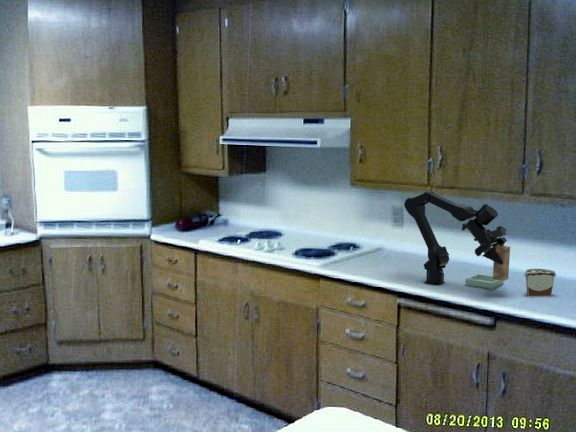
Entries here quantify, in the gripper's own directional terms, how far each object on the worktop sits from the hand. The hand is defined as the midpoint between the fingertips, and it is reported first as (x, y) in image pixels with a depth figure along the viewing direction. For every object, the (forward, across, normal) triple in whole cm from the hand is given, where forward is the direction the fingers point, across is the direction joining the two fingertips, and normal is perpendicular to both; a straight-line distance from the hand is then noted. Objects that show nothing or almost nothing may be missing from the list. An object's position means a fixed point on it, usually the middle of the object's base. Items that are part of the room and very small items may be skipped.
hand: (504, 263), depth 254 cm
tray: (0, +12, +19) cm, 22 cm away
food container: (+16, +12, +3) cm, 20 cm away
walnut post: (+4, 0, +6) cm, 7 cm away
